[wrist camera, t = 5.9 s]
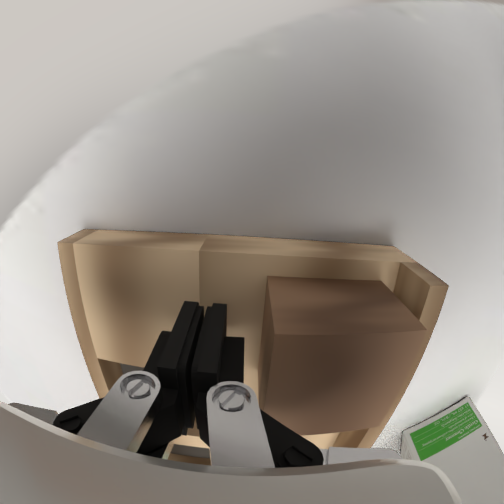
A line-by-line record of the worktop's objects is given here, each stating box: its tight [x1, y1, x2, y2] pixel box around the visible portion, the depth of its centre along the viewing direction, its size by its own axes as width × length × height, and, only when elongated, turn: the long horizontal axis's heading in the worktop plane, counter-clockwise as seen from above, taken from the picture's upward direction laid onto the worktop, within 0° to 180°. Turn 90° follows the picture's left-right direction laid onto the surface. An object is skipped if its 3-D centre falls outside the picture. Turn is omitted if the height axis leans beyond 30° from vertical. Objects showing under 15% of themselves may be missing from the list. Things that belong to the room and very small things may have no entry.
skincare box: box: [400, 397, 504, 504], centre depth 12 cm, size 8×7×16 cm
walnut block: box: [258, 276, 427, 436], centre depth 10 cm, size 5×5×4 cm
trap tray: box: [57, 229, 449, 466], centre depth 14 cm, size 16×24×6 cm
